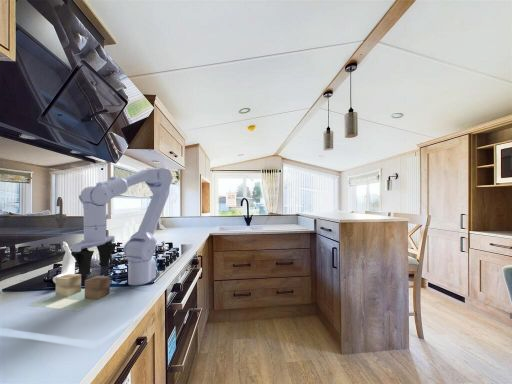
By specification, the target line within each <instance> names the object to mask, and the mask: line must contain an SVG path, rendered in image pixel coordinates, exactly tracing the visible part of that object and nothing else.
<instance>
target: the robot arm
mask: <svg viewBox="0 0 512 384" xmlns="http://www.w3.org/2000/svg"><path fill="white" fill-rule="evenodd" d="M171 171H172V170H170V169H169V168H168V167H166V166H164V167H154V168H150V167H149V168H146V169H145V168H144V169H141V170H139V171H137V172H135V173H132V174H130V175H128V176H126V177H123V178H122V177H121V176H111V177H109V179H108V180H106V181H103V182H101V181H99V182H96V185H95V186H86V187H84V188H83V189H82V190H81V192H80V194H79V195H78V199H79V201H80V203H81V204H82V206H83V239H81V240H80V241H79V242H78V243H74V244H72V245H71V250H70V251H71V255H72V256H73V257H74V258H75V263H77V266H78V269H79V272H80V274H81V276H82V275H83V276H84V275H85V276H89V275H90V273H91V263H92V258H93V255H94V252H95V250H89V249H91V248H94V247H96V249H97V251H98V255H99V256H98V257H99V265H100V267H101V268H108V267H109V264H110V261H111V257H112V254H113V252H114V250H115V248H116V247H117V243H116V242H115V235H109V236H108V235H107V204H108V203H109V202H110V200H112V199H115V198H116V197H118V196H120V195H122V194H125V193H126V192H128V188H129V187H130V188H131V187H132V186H134V185H137V184H140V183H143V182H144V183H145V184H146V185H147V187H148V189H150V191H151V192H152V194H153V195H151V196H152V197H151V199H150V202H149V204H148V206H147V208H146V211H145V214H144V216H143V218H142V220H141V223H140V226H139V228H138V231H136V232H135V233H133V234H132V235H131V236H130V238H129V240H127V242H126V243H125V244H124V247H123V254H124V256H125V257H126V259H127V265H128V266H127V268H128V269H127V270H128V271H127V273H128V274H127V275H128V279H127V281H128V282H127V283H128V285H129V286H142V285H146V284H148V283H150V282H151V281H152V280H154V279H156V278H157V263H156V260H155V258H154V257H153V256H154V255H155V253H156V244H157V239H156V238H155V237H154V234H155V231H156V229H157V227H158V223H159V222H160V218H161V216H162V213H163V211H164V208H165V205H166V203H167V200H168V198H169V194H170V188H171V184H172V182H173V173H172V172H171Z"/></svg>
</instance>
